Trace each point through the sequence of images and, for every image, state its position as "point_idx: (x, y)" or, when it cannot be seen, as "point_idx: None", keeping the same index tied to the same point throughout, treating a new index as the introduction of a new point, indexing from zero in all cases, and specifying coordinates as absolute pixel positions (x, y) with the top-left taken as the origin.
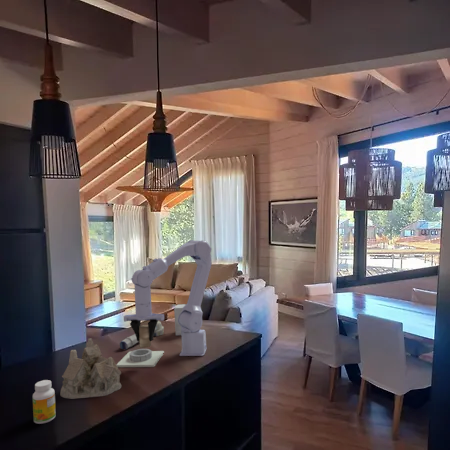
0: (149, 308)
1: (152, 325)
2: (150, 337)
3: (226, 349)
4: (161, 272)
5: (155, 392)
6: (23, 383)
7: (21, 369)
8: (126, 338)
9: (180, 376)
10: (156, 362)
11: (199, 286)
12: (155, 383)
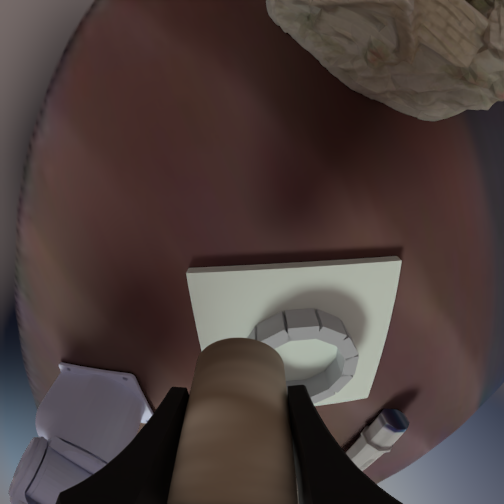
0: None
1: (78, 495)
2: (165, 408)
3: (42, 390)
4: None
5: (89, 10)
6: None
7: None
8: (389, 447)
9: (36, 170)
10: (195, 312)
11: None
12: (105, 73)
